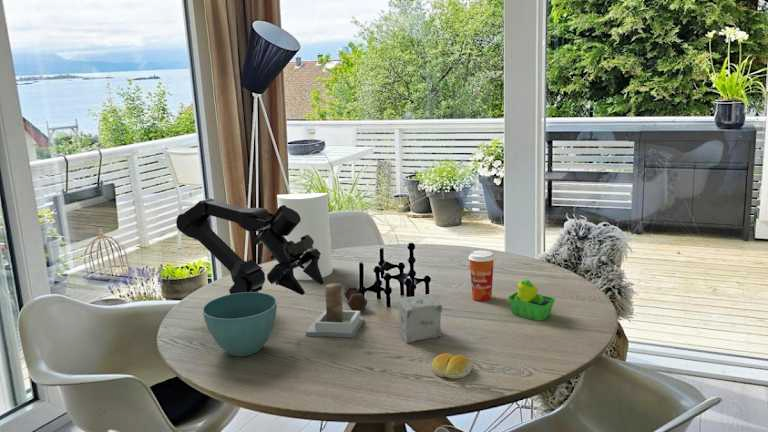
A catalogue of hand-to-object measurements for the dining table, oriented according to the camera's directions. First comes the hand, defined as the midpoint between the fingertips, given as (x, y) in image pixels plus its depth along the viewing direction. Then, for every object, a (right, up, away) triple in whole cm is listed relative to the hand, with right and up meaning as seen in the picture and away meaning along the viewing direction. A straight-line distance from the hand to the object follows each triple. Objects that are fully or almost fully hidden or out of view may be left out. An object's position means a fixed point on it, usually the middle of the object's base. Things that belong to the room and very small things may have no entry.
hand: (313, 288), depth 187 cm
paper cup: (+49, -5, +18) cm, 52 cm away
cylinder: (-7, 0, +52) cm, 52 cm away
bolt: (+10, -7, +19) cm, 22 cm away
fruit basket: (+60, -8, +2) cm, 61 cm away
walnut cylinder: (+6, -10, -1) cm, 11 cm away
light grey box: (+29, -12, -9) cm, 32 cm away
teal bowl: (-16, -14, -13) cm, 25 cm away
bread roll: (+35, -16, -30) cm, 49 cm away
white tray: (+6, -11, -1) cm, 12 cm away
